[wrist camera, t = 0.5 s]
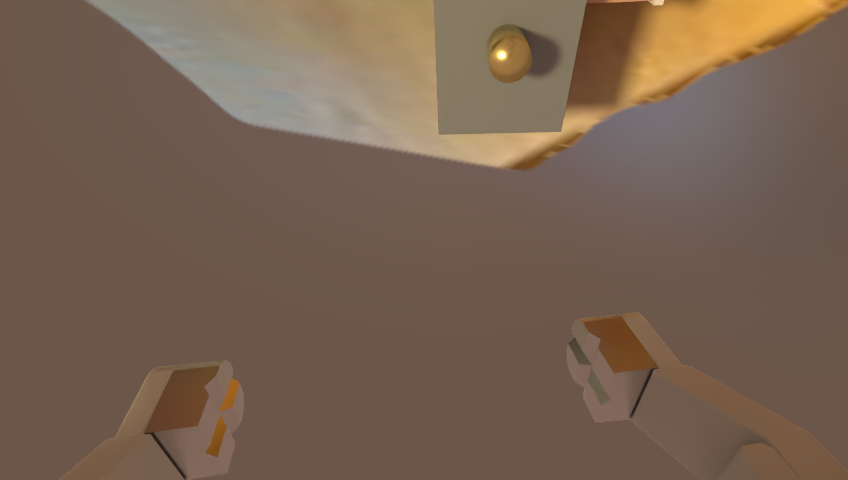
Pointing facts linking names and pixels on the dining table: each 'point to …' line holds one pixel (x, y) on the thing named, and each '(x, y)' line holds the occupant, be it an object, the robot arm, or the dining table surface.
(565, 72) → the grey cabinet
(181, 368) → the robot arm
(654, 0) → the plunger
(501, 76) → the brass dial
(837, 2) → the dining table surface
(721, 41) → the dining table surface
